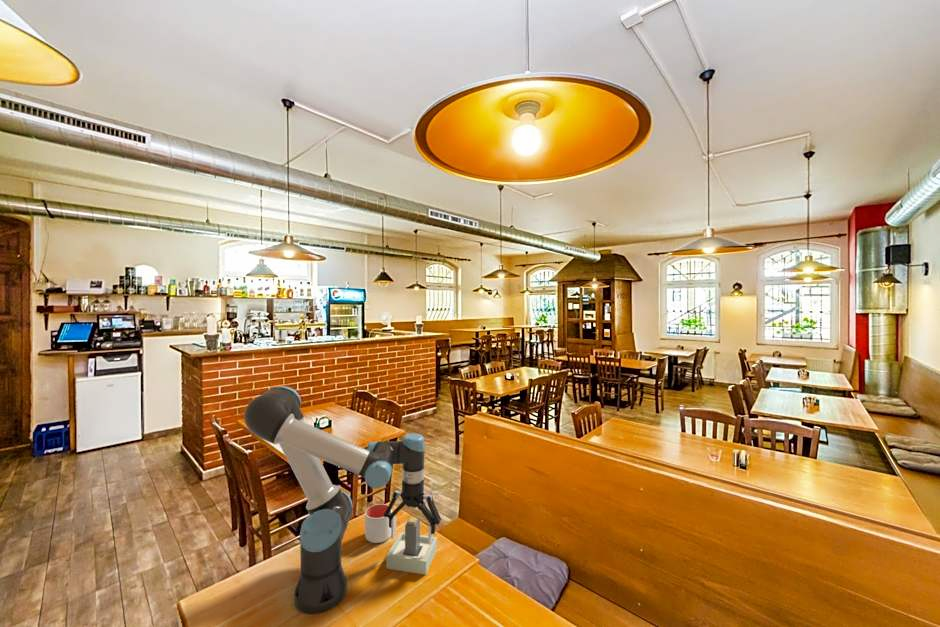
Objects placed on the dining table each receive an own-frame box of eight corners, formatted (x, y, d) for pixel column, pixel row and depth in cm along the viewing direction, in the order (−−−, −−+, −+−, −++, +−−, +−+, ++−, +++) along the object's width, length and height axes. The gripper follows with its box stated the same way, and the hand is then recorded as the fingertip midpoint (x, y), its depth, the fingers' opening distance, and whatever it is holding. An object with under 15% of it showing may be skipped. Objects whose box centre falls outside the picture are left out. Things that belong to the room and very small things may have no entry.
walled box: (386, 568, 128) (386, 555, 128) (400, 544, 140) (400, 532, 140) (425, 574, 125) (426, 561, 125) (437, 549, 138) (437, 537, 138)
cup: (397, 534, 146) (397, 508, 146) (378, 548, 138) (378, 521, 138) (378, 525, 152) (378, 501, 151) (359, 538, 143) (359, 513, 143)
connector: (404, 561, 131) (405, 522, 131) (409, 554, 135) (409, 515, 135) (415, 563, 130) (416, 523, 130) (419, 555, 134) (420, 517, 134)
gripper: (375, 480, 130) (373, 540, 131) (444, 489, 126) (443, 551, 126) (384, 470, 138) (383, 527, 139) (450, 478, 133) (448, 537, 134)
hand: (411, 539), depth 132 cm, fingers open, 13 cm apart
